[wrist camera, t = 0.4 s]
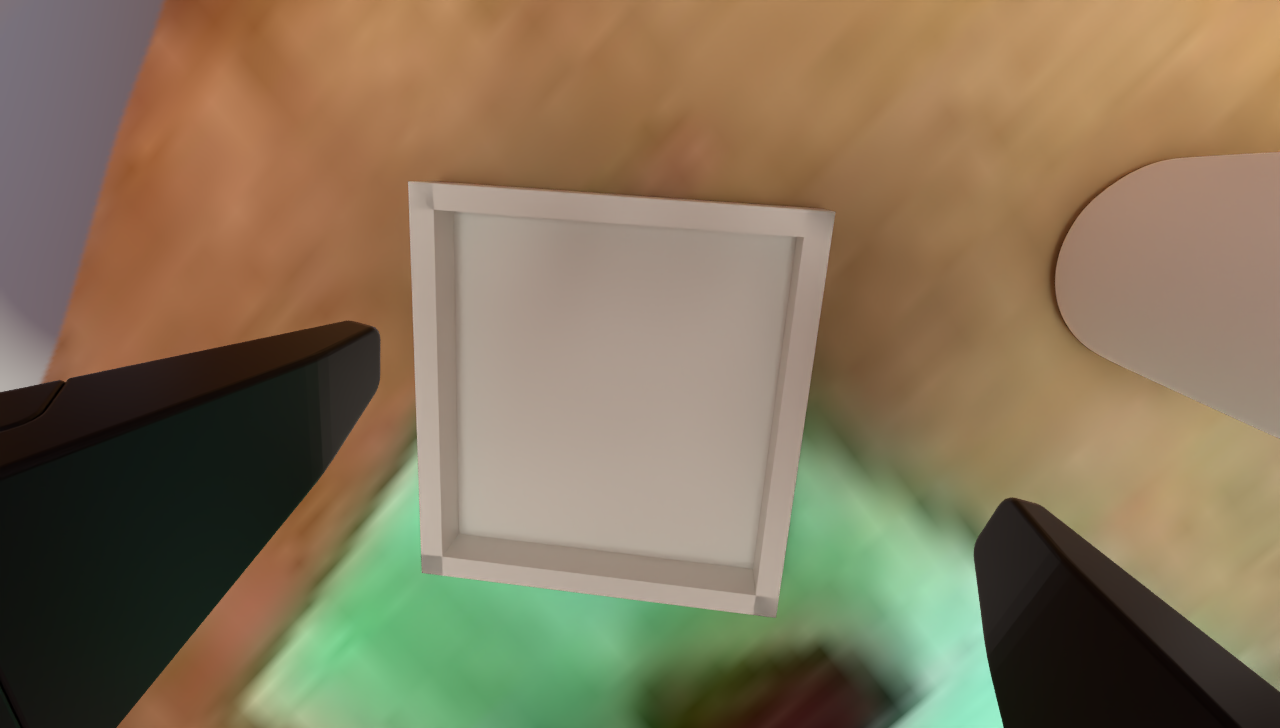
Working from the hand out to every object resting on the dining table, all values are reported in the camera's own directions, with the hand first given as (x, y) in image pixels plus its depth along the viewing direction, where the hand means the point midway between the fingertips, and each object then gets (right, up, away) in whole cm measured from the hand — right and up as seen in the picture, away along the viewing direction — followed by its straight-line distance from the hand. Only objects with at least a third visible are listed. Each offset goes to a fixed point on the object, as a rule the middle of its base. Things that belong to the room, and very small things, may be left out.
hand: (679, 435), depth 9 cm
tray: (-2, 0, +14) cm, 14 cm away
